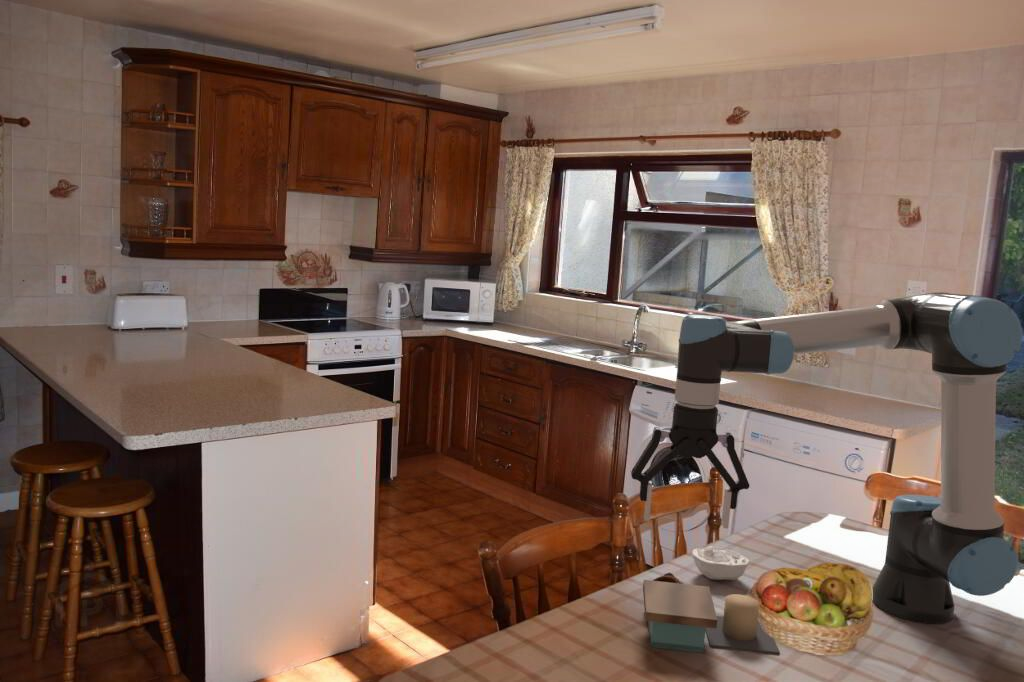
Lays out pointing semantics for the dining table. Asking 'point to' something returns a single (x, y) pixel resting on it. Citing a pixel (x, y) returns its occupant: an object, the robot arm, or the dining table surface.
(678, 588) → the lid
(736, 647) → the mat stand
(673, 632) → the teal open box
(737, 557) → the cell model
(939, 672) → the dining table surface
